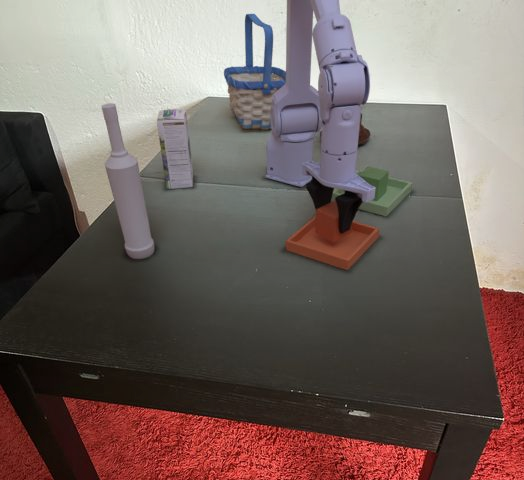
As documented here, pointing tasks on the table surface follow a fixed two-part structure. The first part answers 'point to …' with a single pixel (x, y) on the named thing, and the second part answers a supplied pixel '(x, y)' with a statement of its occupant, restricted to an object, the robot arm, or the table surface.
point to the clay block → (329, 222)
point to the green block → (376, 180)
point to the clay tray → (333, 244)
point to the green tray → (388, 201)
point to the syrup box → (175, 148)
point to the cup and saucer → (361, 133)
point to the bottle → (127, 190)
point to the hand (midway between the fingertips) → (333, 225)
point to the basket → (254, 81)
